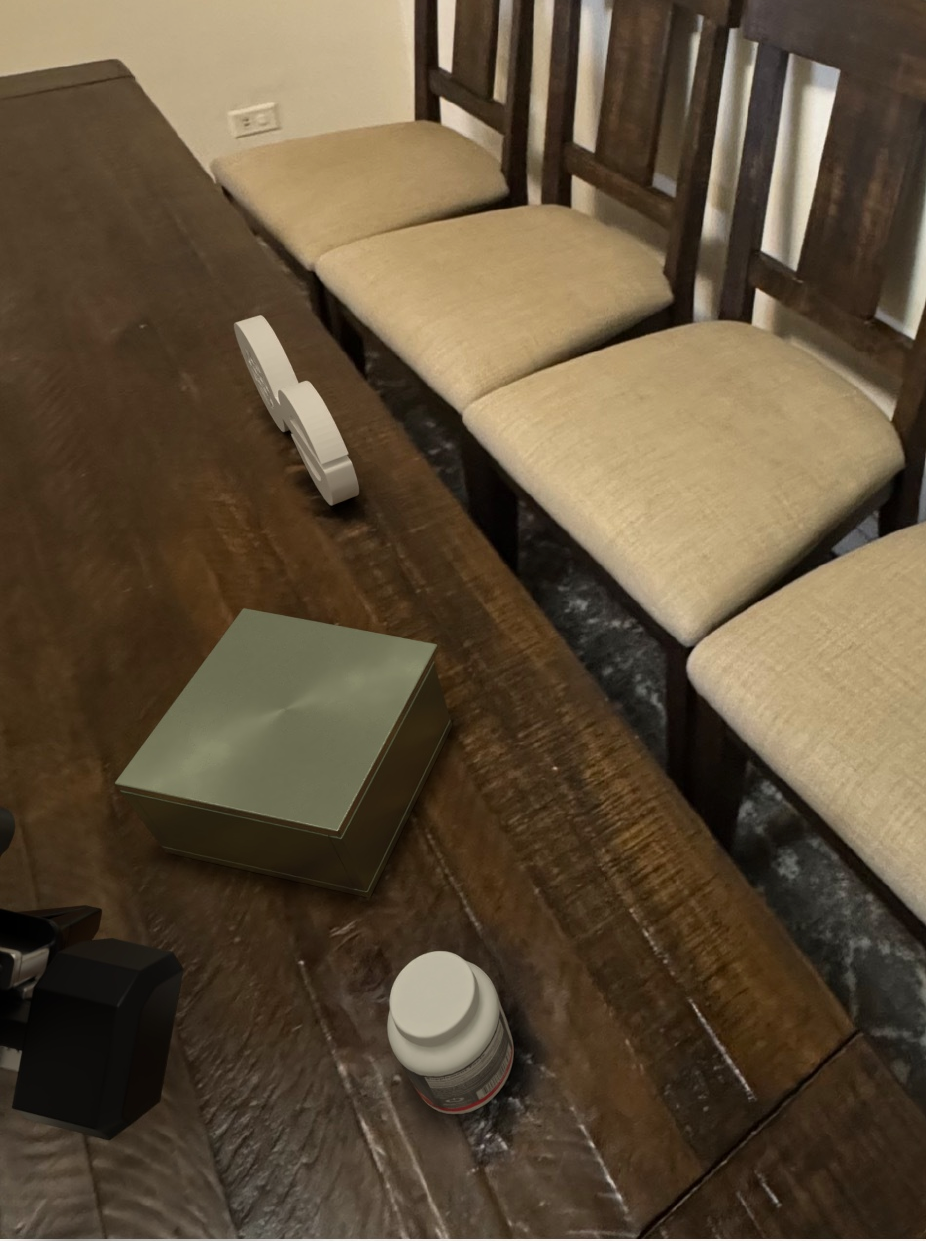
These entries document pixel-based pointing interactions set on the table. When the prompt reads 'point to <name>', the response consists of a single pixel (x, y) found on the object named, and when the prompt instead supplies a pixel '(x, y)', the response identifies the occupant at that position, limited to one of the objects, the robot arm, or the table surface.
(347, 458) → the letter
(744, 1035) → the table surface
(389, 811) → the bin
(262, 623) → the bin lid
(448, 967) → the pill bottle
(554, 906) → the table surface
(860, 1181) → the table surface
